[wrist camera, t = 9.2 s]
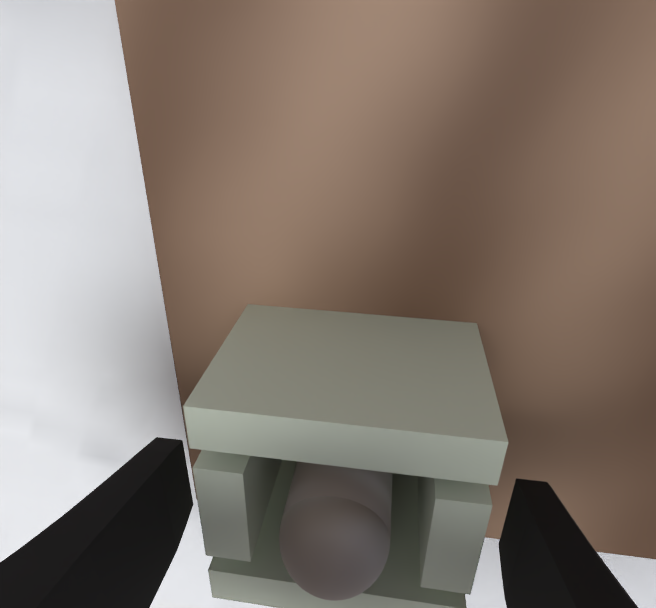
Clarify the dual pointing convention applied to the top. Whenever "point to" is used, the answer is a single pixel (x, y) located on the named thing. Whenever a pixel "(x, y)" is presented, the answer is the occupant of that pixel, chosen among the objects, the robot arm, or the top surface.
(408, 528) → the collar
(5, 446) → the top surface
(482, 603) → the top surface
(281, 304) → the post board
